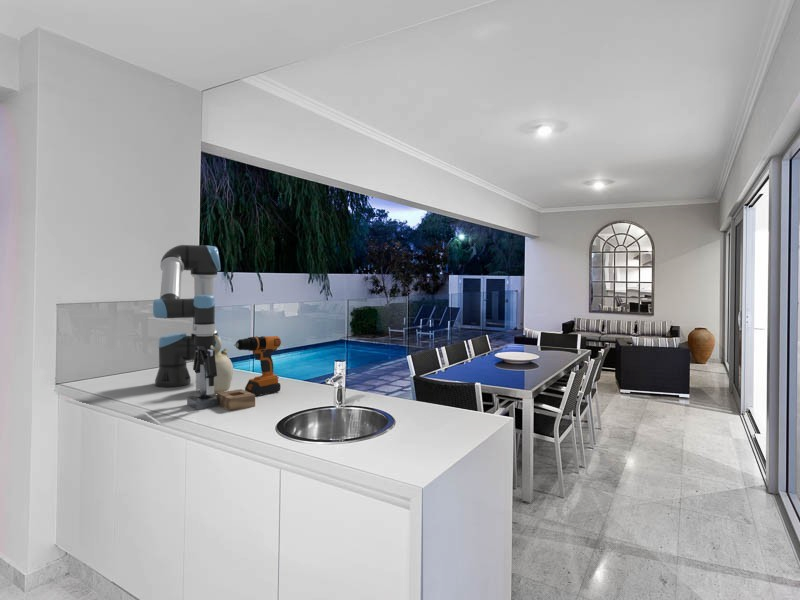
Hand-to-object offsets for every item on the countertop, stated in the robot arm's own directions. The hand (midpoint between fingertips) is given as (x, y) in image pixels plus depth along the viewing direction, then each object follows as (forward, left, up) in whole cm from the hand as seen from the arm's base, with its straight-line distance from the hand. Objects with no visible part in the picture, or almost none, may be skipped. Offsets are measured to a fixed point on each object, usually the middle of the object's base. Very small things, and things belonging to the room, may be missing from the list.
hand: (204, 391), depth 190 cm
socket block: (0, 0, -6) cm, 6 cm away
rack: (+8, +9, -6) cm, 13 cm away
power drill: (-5, +25, -6) cm, 26 cm away
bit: (0, 0, -5) cm, 5 cm away
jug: (-22, +13, -6) cm, 26 cm away
